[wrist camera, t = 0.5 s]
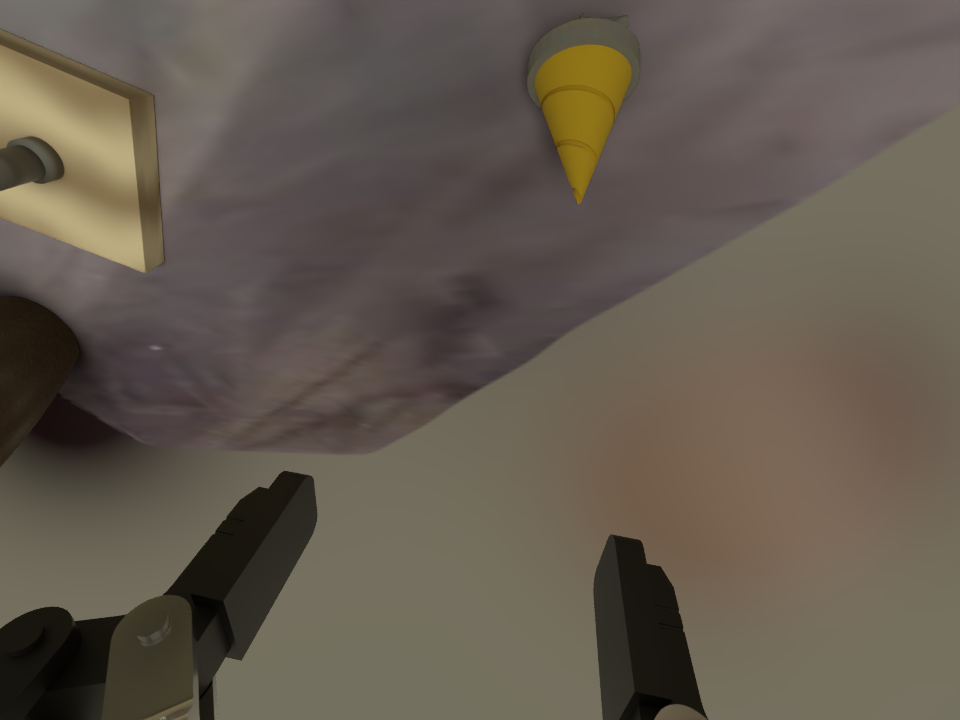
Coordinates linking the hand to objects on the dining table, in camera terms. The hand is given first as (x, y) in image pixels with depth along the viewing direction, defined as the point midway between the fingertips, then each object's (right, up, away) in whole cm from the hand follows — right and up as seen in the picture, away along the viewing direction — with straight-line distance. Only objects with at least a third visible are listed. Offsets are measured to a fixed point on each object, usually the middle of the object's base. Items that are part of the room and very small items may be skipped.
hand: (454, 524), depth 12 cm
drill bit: (+7, +19, +13) cm, 24 cm away
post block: (-27, +18, +18) cm, 37 cm away
